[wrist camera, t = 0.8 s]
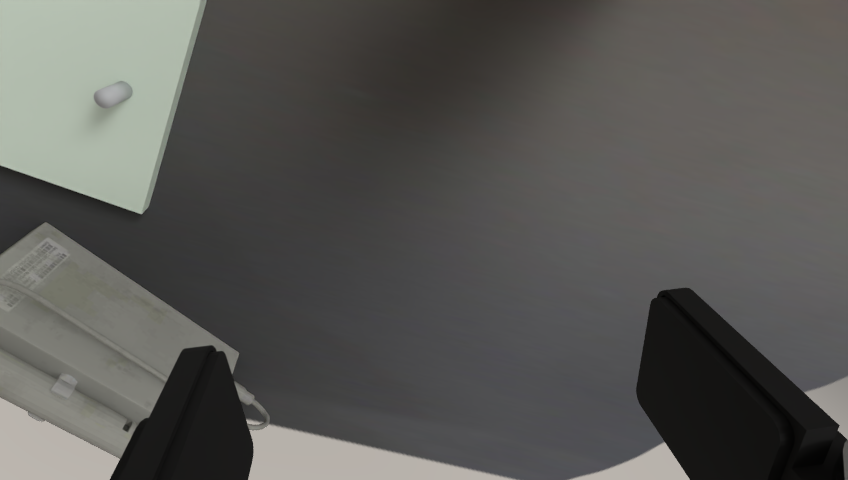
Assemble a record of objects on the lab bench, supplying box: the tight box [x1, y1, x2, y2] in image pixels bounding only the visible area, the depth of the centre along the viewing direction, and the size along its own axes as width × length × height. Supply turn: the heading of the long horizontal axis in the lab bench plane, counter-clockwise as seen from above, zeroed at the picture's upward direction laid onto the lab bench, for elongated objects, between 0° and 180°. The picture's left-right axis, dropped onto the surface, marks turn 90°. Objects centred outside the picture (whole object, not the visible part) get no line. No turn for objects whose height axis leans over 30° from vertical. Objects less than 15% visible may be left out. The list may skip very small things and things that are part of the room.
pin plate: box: [0, 0, 207, 214], centre depth 33 cm, size 18×20×4 cm
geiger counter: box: [0, 222, 270, 459], centre depth 40 cm, size 14×6×25 cm
